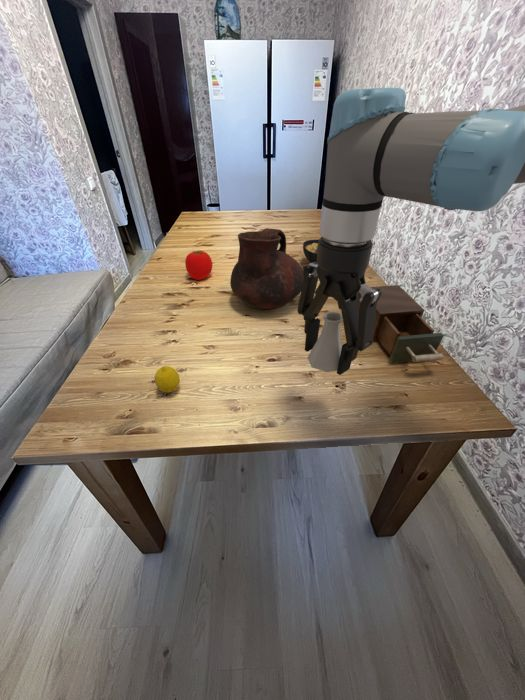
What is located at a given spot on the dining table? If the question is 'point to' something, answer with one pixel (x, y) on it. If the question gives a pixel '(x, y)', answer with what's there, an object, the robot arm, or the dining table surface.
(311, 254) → the bowl
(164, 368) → the fruit
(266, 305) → the jug
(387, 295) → the cabinet
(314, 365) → the flask
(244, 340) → the dining table surface
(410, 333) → the drawer
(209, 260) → the tomato
